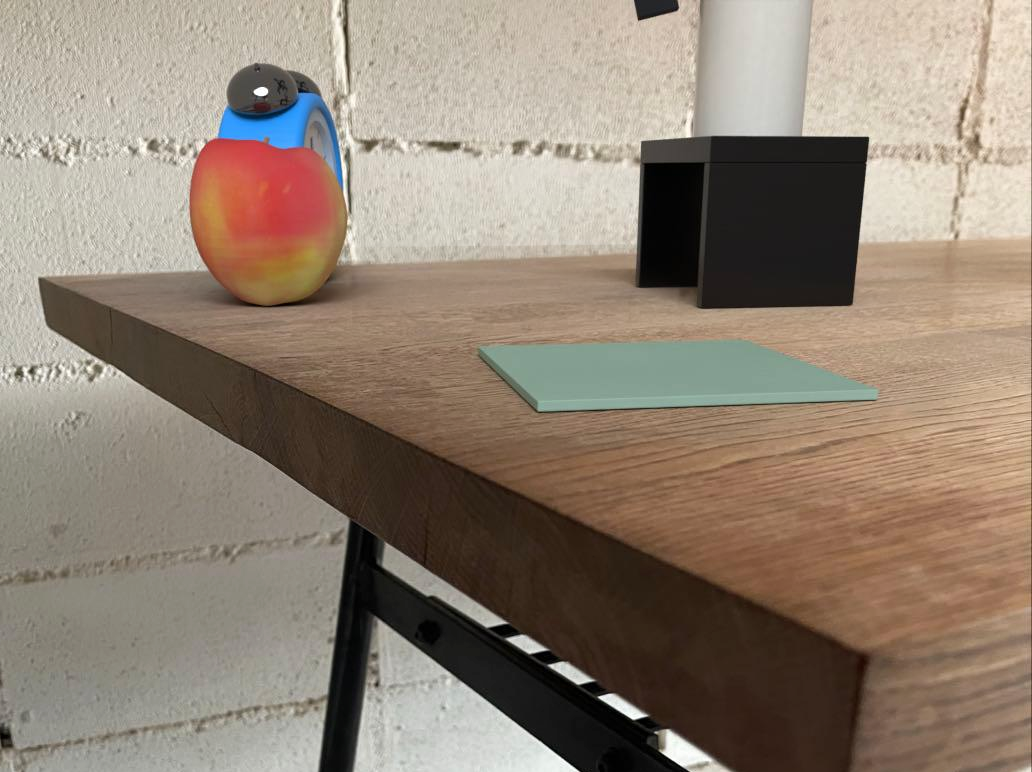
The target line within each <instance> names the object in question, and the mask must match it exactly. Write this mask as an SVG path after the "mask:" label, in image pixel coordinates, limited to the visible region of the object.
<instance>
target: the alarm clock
mask: <svg viewBox="0 0 1032 772" xmlns="http://www.w3.org/2000/svg"><path fill="white" fill-rule="evenodd" d="M225 92H226V102H227V106H226V107H225V109H224V111H223V113H222V117H221V120H220V124H219V128H218V133H217V138H227V139H236V140H258V141H262V142H264V139H265V136H266V137H269V138H270V139H269V142H268V144H270V145H272V146H275V147H277V148H284V149H286V148H292V147H306V148H310V149H312V150H314V151H315V152H317V153H318V154H319V155H320V156H321V157H322V158H323V159H324V160H325V161H326V162H327V164H328V165H329V167H330V168H331V169H332V171H333V173H334V174H335V176H336V178H337V180H338V182H339V184H340V186H341V189H342V192H343V193H344V178H343V167H342V166H343V165H342V157H341V150H340V144H339V139H338V133H337V130H336V126H335V121H334V118H333V116H332V114H331V111H330V109H329V107H328V105H327V103H326V102H325V100H324V99H323V95H322V92H321V89H320V88H319V86H318V85H317V83H316V82H315V81H314V80H313V79H311V77H309V76H307V75H306V74H304V73H303V72H299V71H296V70H291V69H283V67H281V66H279V65H275V64H272V63H266V62H254V63H253V64H249V65H246V66H244V67H242V68H241V69H239V70H238V71H236V72H235V73H234V74H233V76H232V77H231V78H230V80H229V82H228V84H227V87H226V91H225Z"/></svg>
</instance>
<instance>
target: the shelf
mask: <svg viewBox="0 0 1032 772" xmlns="http://www.w3.org/2000/svg"><path fill="white" fill-rule="evenodd" d="M869 147H870V136H853V135H852V136H845V135H844V136H843V135H842V136H840V135H839V136H833V135H832V136H831V135H829V136H828V135H827V136H826V135H825V136H822V135H821V136H820V135H819V136H817V135H811V136H809V135H802V136H702V137H692V136H690V137H675V138H662V139H648V140H641V141H640V159H639V160H640V161H639V162H640V164H639V183H638V185H639V186H638V207H637V208H638V209H637V210H638V211H637V234H636V236H637V237H636V259H635V261H636V262H635V282H634V283H635V286H636V287H638V288H666V287H667V288H668V287H669V288H672V287H697V291H696V292H697V293H696V307H697V308H699V309H700V308H701V309H728V308H729V309H730V308H731V309H733V308H735V309H737V308H777V307H778V308H779V307H780V308H781V307H782V308H783V307H824V306H825V307H826V306H829V307H831V306H853V305H854V295H855V287H856V275H857V266H858V265H857V264H858V257H859V255H858V254H859V246H860V238H861V237H860V235H861V226H862V215H863V207H864V195H865V184H866V175H867V166H868V165H867V164H868V163H867V162H868V157H869Z"/></svg>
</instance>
